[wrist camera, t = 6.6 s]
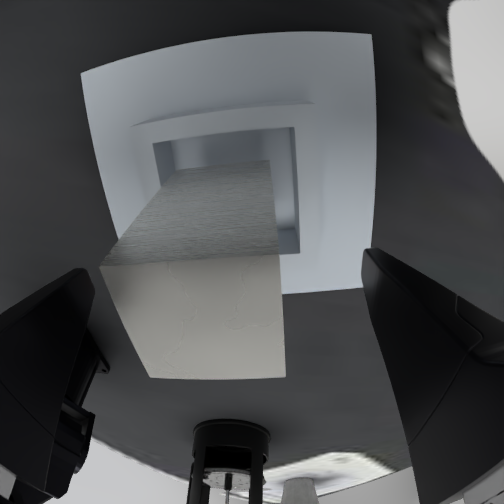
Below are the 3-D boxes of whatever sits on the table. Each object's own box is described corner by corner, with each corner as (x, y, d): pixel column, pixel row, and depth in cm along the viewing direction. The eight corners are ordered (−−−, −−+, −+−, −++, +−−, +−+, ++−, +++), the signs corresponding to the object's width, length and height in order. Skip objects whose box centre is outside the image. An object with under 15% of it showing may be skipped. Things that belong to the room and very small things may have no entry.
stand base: (363, 282, 21) (380, 322, 17) (142, 296, 22) (124, 335, 19) (368, 35, 13) (398, 25, 9) (84, 73, 14) (44, 76, 10)
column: (277, 254, 15) (285, 388, 8) (194, 260, 15) (156, 388, 9) (269, 159, 13) (279, 254, 6) (176, 169, 13) (98, 267, 6)
